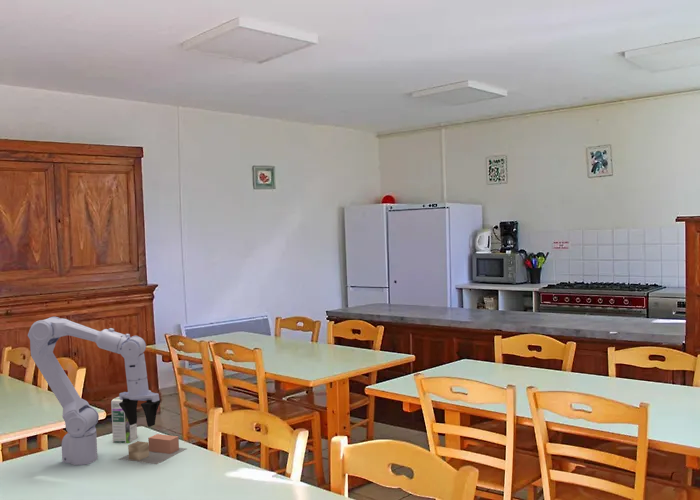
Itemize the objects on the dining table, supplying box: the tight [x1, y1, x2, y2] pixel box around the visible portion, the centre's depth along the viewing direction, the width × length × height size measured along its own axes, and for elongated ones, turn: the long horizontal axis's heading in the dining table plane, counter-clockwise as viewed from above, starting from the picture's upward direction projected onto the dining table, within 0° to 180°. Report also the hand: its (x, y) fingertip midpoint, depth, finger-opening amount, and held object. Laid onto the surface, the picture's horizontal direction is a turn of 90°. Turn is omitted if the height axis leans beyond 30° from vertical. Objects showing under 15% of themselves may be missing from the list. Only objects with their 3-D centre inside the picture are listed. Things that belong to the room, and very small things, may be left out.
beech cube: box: [127, 440, 149, 460], centre depth 193 cm, size 4×4×4 cm
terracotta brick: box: [147, 433, 180, 454], centre depth 198 cm, size 8×4×4 cm, turn 67°
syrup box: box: [110, 396, 138, 444], centre depth 210 cm, size 6×6×14 cm
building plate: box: [119, 447, 187, 465], centre depth 196 cm, size 14×14×1 cm
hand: (142, 424), depth 192 cm, fingers open, 7 cm apart
